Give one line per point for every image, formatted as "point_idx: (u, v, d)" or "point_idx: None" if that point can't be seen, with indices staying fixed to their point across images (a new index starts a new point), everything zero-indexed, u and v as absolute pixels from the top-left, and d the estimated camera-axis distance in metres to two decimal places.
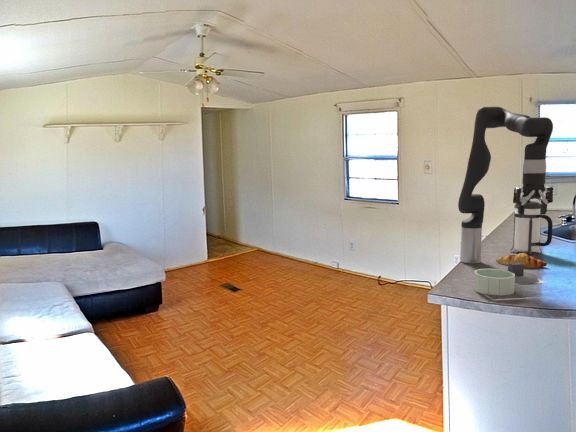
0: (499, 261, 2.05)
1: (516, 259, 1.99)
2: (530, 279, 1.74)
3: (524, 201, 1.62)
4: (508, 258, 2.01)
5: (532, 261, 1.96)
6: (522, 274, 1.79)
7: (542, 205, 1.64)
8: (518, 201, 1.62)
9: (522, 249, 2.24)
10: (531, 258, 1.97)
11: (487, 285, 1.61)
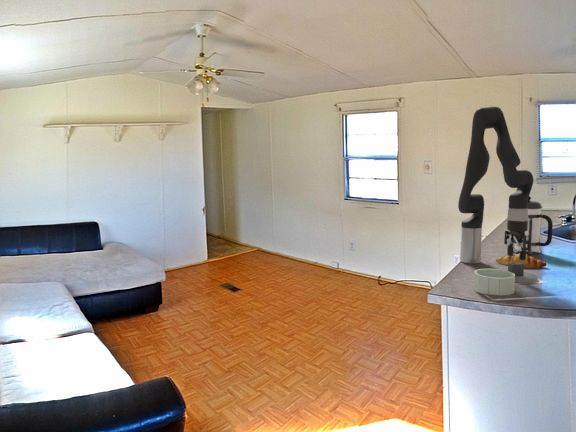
0: (499, 261, 2.05)
1: (516, 259, 1.99)
2: (530, 279, 1.74)
3: None
4: (508, 258, 2.01)
5: (532, 261, 1.96)
6: (522, 274, 1.79)
7: (510, 248, 1.83)
8: None
9: None
10: (531, 258, 1.97)
11: (487, 285, 1.61)
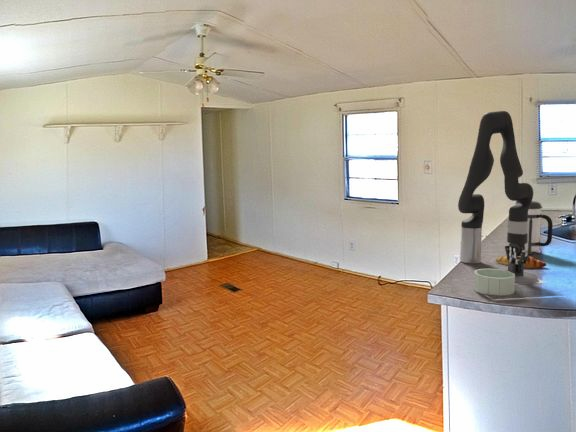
0: (499, 261, 2.05)
1: None
2: (530, 279, 1.74)
3: None
4: None
5: (531, 261, 1.96)
6: (522, 274, 1.79)
7: None
8: None
9: None
10: (530, 258, 1.97)
11: (487, 285, 1.61)
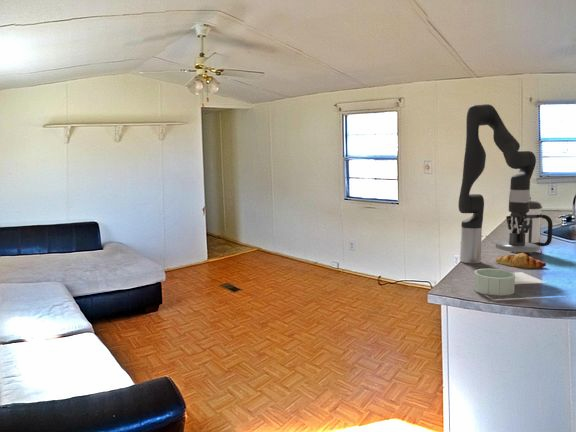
0: (498, 261, 2.05)
1: (515, 259, 1.99)
2: (532, 248, 1.73)
3: None
4: (507, 258, 2.01)
5: (531, 261, 1.96)
6: (523, 244, 1.78)
7: None
8: None
9: None
10: (530, 258, 1.97)
11: (487, 285, 1.61)
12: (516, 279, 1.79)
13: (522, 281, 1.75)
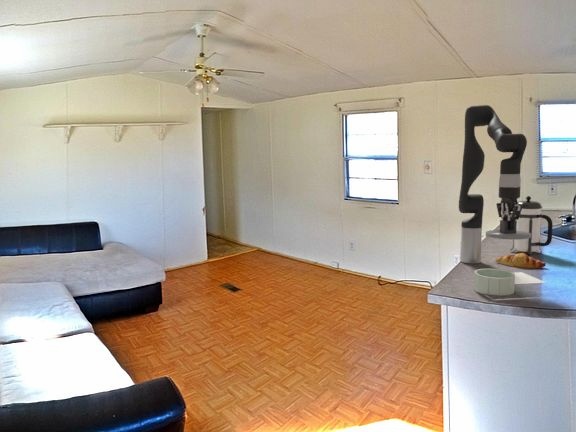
0: (498, 261, 2.06)
1: (514, 259, 1.99)
2: (523, 235, 1.64)
3: None
4: (507, 258, 2.01)
5: (530, 261, 1.96)
6: (515, 231, 1.69)
7: None
8: None
9: (522, 249, 2.24)
10: (530, 258, 1.97)
11: (487, 285, 1.61)
12: (516, 279, 1.79)
13: (522, 281, 1.75)
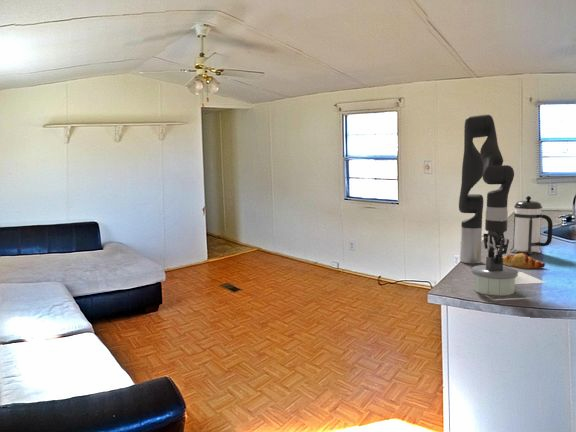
0: None
1: (513, 259, 1.99)
2: (509, 274, 1.60)
3: None
4: (506, 258, 2.02)
5: (529, 261, 1.95)
6: (501, 269, 1.65)
7: (491, 252, 1.67)
8: None
9: (522, 249, 2.24)
10: (529, 258, 1.97)
11: (487, 285, 1.61)
12: (516, 279, 1.79)
13: (522, 281, 1.75)
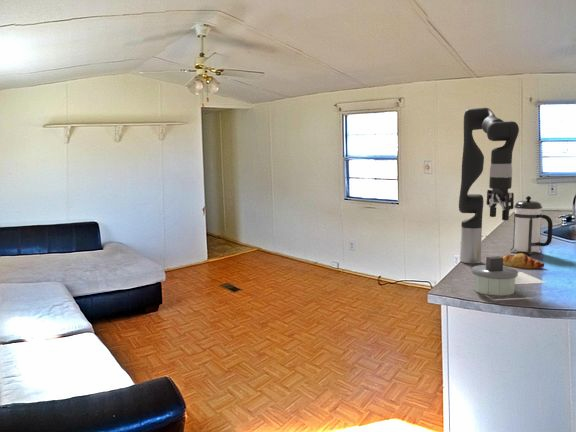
0: None
1: (513, 259, 1.99)
2: (509, 274, 1.60)
3: None
4: (506, 258, 2.02)
5: (529, 262, 1.95)
6: (501, 269, 1.65)
7: (493, 208, 1.68)
8: None
9: (522, 249, 2.24)
10: (528, 259, 1.97)
11: (487, 285, 1.61)
12: (516, 279, 1.79)
13: (522, 281, 1.75)
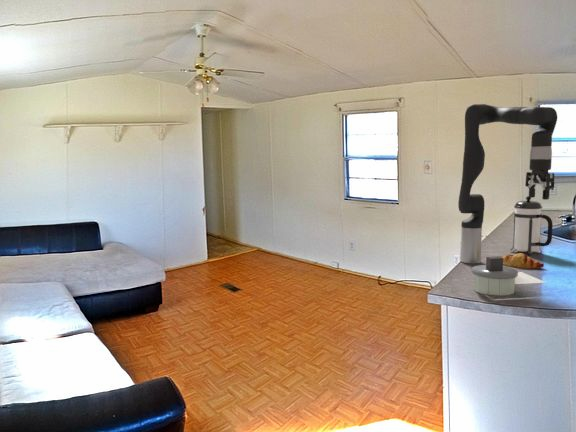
0: None
1: (512, 259, 1.99)
2: (509, 274, 1.60)
3: None
4: (505, 258, 2.02)
5: (528, 262, 1.95)
6: (501, 269, 1.65)
7: (532, 189, 1.79)
8: None
9: (522, 249, 2.24)
10: (528, 259, 1.96)
11: (487, 285, 1.61)
12: (516, 279, 1.79)
13: (522, 281, 1.75)
